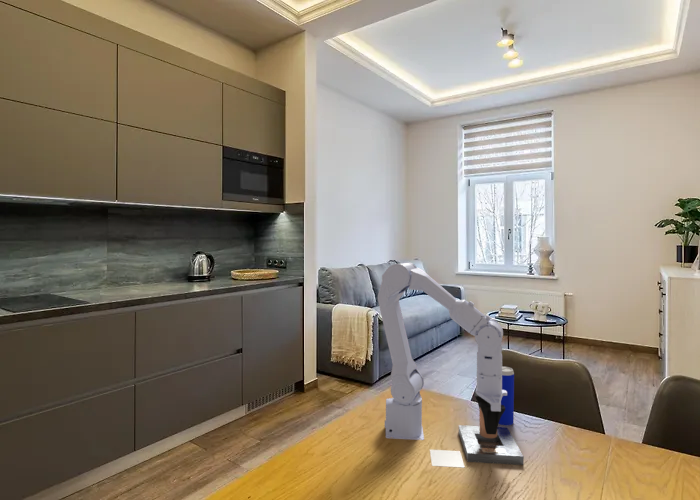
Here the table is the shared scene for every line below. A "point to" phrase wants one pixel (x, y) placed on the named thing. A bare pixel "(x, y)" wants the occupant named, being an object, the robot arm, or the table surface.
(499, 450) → the hole plate
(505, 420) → the beverage can
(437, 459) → the tile
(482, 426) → the peg
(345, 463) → the table surface
